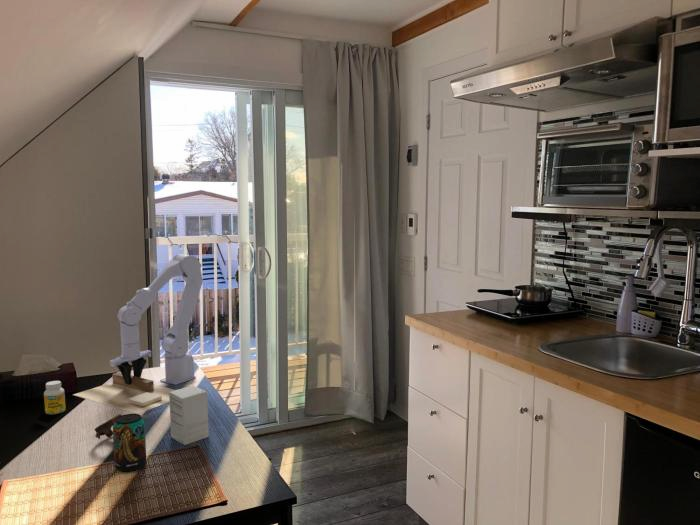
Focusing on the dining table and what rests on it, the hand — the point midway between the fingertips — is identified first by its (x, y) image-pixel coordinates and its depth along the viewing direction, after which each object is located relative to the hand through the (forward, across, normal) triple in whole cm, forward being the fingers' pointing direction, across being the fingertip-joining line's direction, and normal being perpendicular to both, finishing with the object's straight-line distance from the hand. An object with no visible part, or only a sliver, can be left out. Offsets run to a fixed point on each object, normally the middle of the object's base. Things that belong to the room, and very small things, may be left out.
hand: (132, 382), depth 190 cm
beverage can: (+3, +36, +47) cm, 59 cm away
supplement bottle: (+3, +26, -1) cm, 26 cm away
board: (+2, +5, +6) cm, 8 cm away
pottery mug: (+3, +28, +32) cm, 43 cm away
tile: (+1, +7, +15) cm, 17 cm away
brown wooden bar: (+1, 0, 0) cm, 1 cm away
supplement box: (+3, +17, +46) cm, 49 cm away
